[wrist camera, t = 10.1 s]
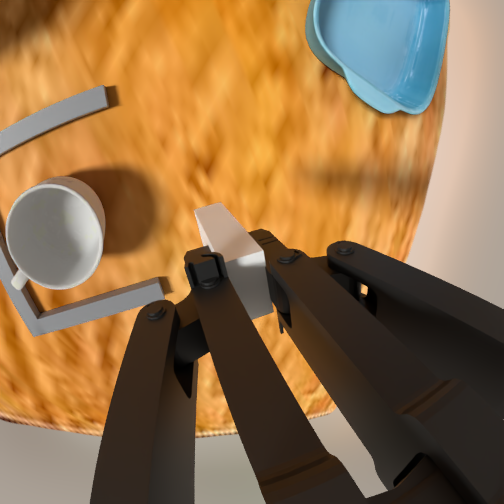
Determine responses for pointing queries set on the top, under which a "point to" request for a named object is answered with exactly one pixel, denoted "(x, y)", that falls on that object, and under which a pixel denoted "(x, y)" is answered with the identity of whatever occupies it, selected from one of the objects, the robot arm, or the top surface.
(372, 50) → the casserole dish
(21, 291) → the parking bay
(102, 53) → the top surface
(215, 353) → the robot arm
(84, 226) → the teacup
